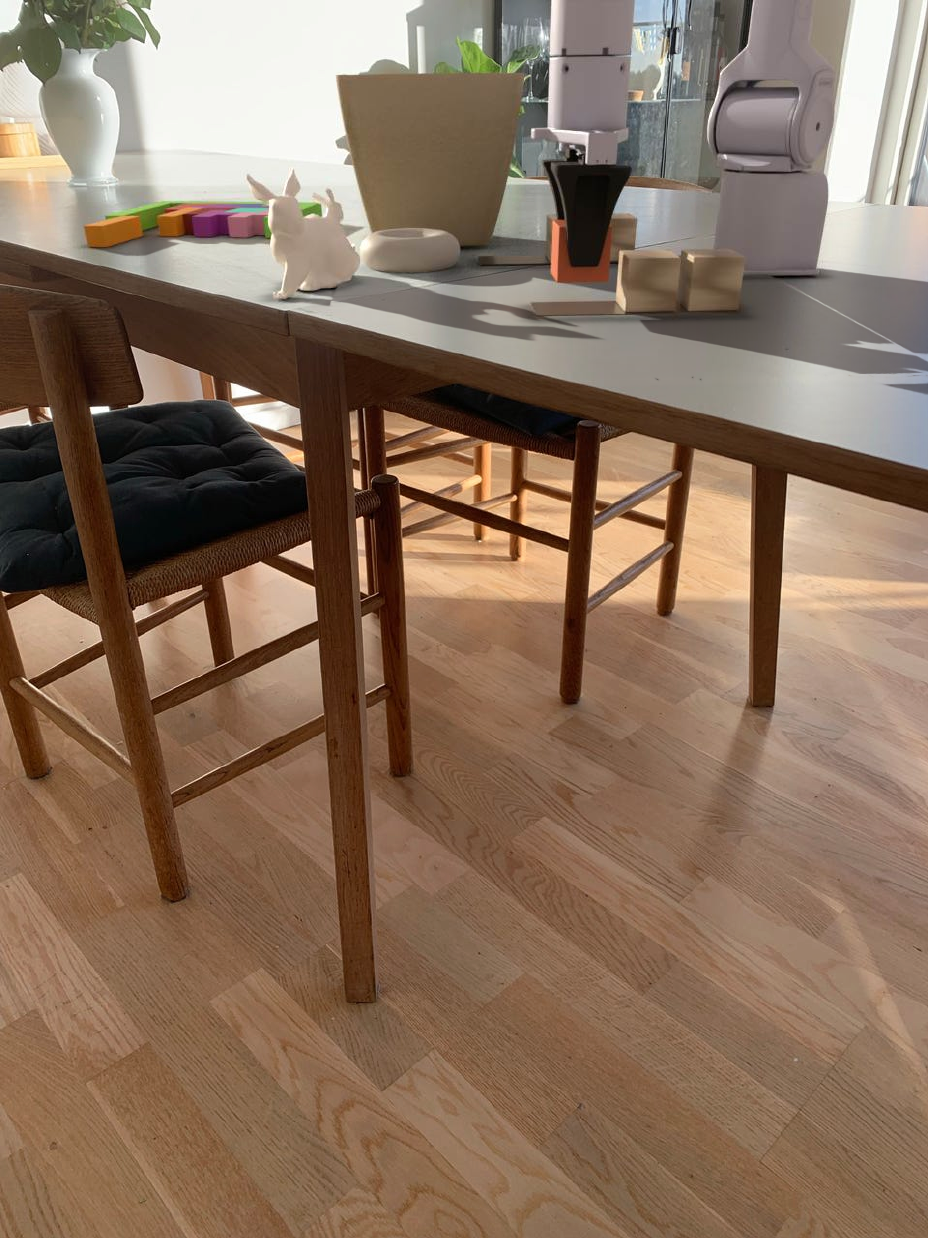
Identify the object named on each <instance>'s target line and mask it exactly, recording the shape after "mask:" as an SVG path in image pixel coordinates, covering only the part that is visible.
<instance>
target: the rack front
mask: <svg viewBox="0 0 928 1238" xmlns="http://www.w3.org/2000/svg"><path fill="white" fill-rule="evenodd" d="M745 258H746V257H745V256H743V255H741V254H739V253H737V252H735V251H734V250H732V249H714V248H686V249H685V248H684V249H681V251H680V256H679V255H677V254H676V253H674V252H673V251H671V250H670V249H635V250H620V251H619V264H618V265H617V267H618V268H617V278H616V280H617V281H616V290H615V291H616V293H615V295H616V296H615V300H591V301H590V300H587V301H586V300H585V301H584V300H583V301H582V300H581V301H580V300H579V301H530V302H529V303H530V306H531V307H532V310H533V312H534V313H535V316H536V317H566V316H567V317H570V316H571V317H573V316H621V315H622V316H625V315H627V316H629V315H633V316H634V315H681V314H683V315H685V314H687V315H688V314H692V315H693V314H740V313H741V312H740V311H739V307H740V302H741V301H740V299H741V293H742V284H743V278H744V275H743V272H744V265H745Z"/></svg>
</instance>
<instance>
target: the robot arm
mask: <svg viewBox="0 0 928 1238" xmlns="http://www.w3.org/2000/svg"><path fill="white" fill-rule="evenodd" d="M635 2H636V0H551V2H550V4H551V6H550V35H549V38H550V39H549V65H548V66H549V69H548V98H547V99H548V100H547V101H548V103H547V127H532V128H531V129H530V138H531V139H532V140H545V141H546V142H552V143H558V151H559V152H564V155H562V157H561V158H552V159H551V158H550V159H549V158H548V159H541V165H542V167H543V170H544V173H545V175H546V177H547V180H548V183H549V187H550V190H551V193H552V194H551V195H552V198H553V204H554V209H555V214H556V216H557V220H565V227H566V240H567V249H568V256H569V261H570V265H571V267H598V265H599V262H600V259H601V256H602V253H603V249H604V245H605V241H606V237H607V233H608V229H609V225H610V221H611V218H612V214H613V213H614V210H615V208H616V205H617V204H618V201H619V198H620V196H621V194H622V192H623V190H624V188H625V186H626V184H627V182H628V181H629V179H630V177H631V174H632V171H633V167H632V166H631V165H628V164H627V165H617V164H618V146H619V145H618V144H620V143H622V142H626V141H627V140H628V139H629V131H630V130H629V127H628V126H627V119H628V105H629V103H628V102H629V89H630V76H631V60H632V47H633V45H632V44H633V43H632V42H633V34H634V33H633V30H634V29H633V28H634V17H635V6H636V5H635V4H636V3H635ZM816 2H817V0H753V1H752V7H751V16H750V25H749V32H748V40H747V45H746V47H744V48H743V50H741V52H740V53H738V55H736V56H735V57H734V58H733V59H732V60H731V61H730V62H729V63H728V64H727V65H726V66H725V67H724V68H723V69H722V71H721V72H720V74H719V82H718V87H717V92H716V96H715V98H714V103H713V105H712V107H711V109H710V112H709V116H708V119H707V126H706V127H707V129H706V130H707V131H706V136H707V142H708V147H709V150H710V153H711V154H712V155H711V156H713V158H714V159H715V160H716V166H715V167H716V168H717V169H723V170H722V177H721V185H720V193H719V200H718V210H717V217H716V225H715V233H714V240H713V241H714V242H713V249H732V250H734V251H735V252H737V253H739V254H741V255H743V256H745V257H746V258H745V265H744V272H743V276H744V275H748V276H749V275H751V276H752V275H768V276H770V277H778V276H779V277H780V276H781V277H784V276H785V277H786V276H788V277H789V276H790V277H791V276H818V275H819V273H820V270H819V269H818V268H817V267H818V261H819V255H820V250H821V244H822V239H823V233H824V228H825V221H826V215H827V210H828V206H829V181H828V178H827V176H826V174H825V172H823V170H819V169H812V168H813V164H814V163H816V162H817V161H818V160H819V158H820V157H821V156H822V154H823V153H824V152H825V150H826V149H827V146H828V145H829V142H830V139H831V136H832V133H833V128H834V123H835V104H834V90H835V82H836V81H835V80H836V69H834V67H833V66H832V64H830V62H828V60H827V59H826V58H825V57H824V56H823V55H822V54H821V53H820V52H819V51H818V50H817V49H816V48H815V47H814V46H813V45H812V44H811V41H810V39H811V33H812V27H813V21H814V13H815V6H816ZM765 81H789V82H792V83H794V84H795V86H756V85H758V84H759V83H762V82H765Z"/></svg>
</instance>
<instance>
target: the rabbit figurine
mask: <svg viewBox="0 0 928 1238" xmlns="http://www.w3.org/2000/svg"><path fill="white" fill-rule="evenodd" d="M245 178H246V181H247V182H248V186H249V190H250V193H251V195H252V196H253V198H255V199H256V200H257V201H259V202H264V203H266V204H268V205H269V206H270V209H269V214H268V225H269V228H270V230H271V232H272V236H271V238H270V251H271V255H272V256H273V259H274V260H275V262H276V263H277V264H278V265H279V266H280V267H282V268H283V269H284V274H283V279H282V285H281V290H278V291H274V292H273V293H272V295H273V296H272V299H274V300H276V299H278V300H281V299H283V300H286V299H288V298H289V297H293V296H294V295H295V293H296V292H297V290H300V291H304V292H305V291H317V290H320V289H331V288H337V287H338V286H339V284H341V283H344V282H348V281H351V280H352V276H354V275H355V273H356V272H357V271H358V270H359V268H360V264H361V256H360V254H359V253H358V252H357V251H356V245H355V243H352V244H351V243H350V241H349V240H348V238H347V234H346V232H345V230H344V228H343V225H342V224H341V222H343V221H344V217H345V215H344V211H343V207H342V204H341V203H340V202H338V201H335V196H334V193H333V191H332V189H331V188H326V189H325V192H326V197H327V198H328V199H326V198H325V197H323V196H321V195H320V194H317V193H316V192H313V193H312V200H313V201H314V202H317V203H319V204H321V206H323V207H325V208H326V211H325V214H324V215H322V217H320V216H318V215H315V214H310V215H308V216H306V217H303V214H302V211H301V207H300V204H299V202H300V201H298V199H297V198H296V196H297V195H298V194H299V193H300V191H301V189H302V187H301V184H300V182H299V179H298V178H297V175H296V174H295V168H294V167H292V168H291V169H290V171H289V175H288V177H287V179H286V182H285V185H284V189H283V193H282V195H278V196H277V195H276V194H274V193H273V192H272V191H271V190H270V189H269V188H267V187H266V186H265V185H263V184H262V183H260V182H258V181H256V180H255V179H254V178H253V177H252V176H251V175H250V174H248V173H247V174H246V175H245Z"/></svg>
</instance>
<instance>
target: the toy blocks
mask: <svg viewBox="0 0 928 1238" xmlns="http://www.w3.org/2000/svg"><path fill="white" fill-rule="evenodd" d="M298 202H299V204H300V207H301V211H302V214H303V217H306V216H308V215H310V214H315V215H318V216H320V217H322V216H323V209H322V205H321V204H319V203H317V202H315V201H314V202H312V201H311V202H309V201H308V202H307V201H306V202H305V201H303V202H300V201H298ZM269 209H270V206H269V205H268V204H266V203H264V202H262V201H208V200H207V201H205V200H204V201H203V200H202V201H201V200H200V201H198V200H197V201H196V200H195V201H194V200H191V201H190V200H161V201H158V202H153V203H149V204H146V205H145V204H144V205H142V206H138V207H133V208H129V209H125V210H122V211H117V212H114V213H109V214H105V215H104V218H105V219H104V220H100V221H96V222H93V223H89V224H84V225H83V230H84V235H85V239H86V243H87V247H88V248H109V247H112V246H115V245H118V244H122V243H124V242H127V241H131V240H135V239H138V238H140V237H141V238H142V237H143V236H144V234H143V231H146V230H149V229H152V228H156V227H158V232H159V237H179V236H183V235H194V238H213V237H216V236H219V235H229V238H250V237H253V236H265V239H271V236H272V232H271V230H270V228H269V225H268V214H269Z"/></svg>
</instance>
